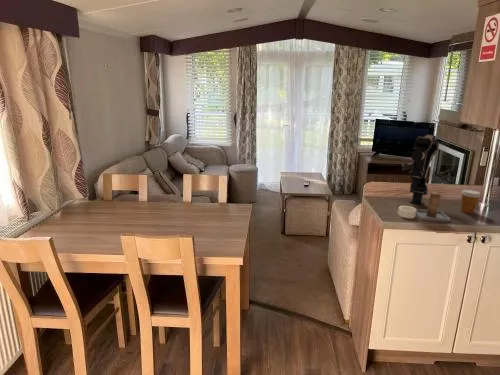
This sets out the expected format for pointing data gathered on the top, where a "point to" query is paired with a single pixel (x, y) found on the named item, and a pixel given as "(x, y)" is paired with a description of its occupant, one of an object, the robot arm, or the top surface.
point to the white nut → (407, 212)
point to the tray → (439, 217)
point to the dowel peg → (433, 204)
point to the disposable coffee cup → (469, 200)
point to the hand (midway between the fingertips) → (414, 187)
